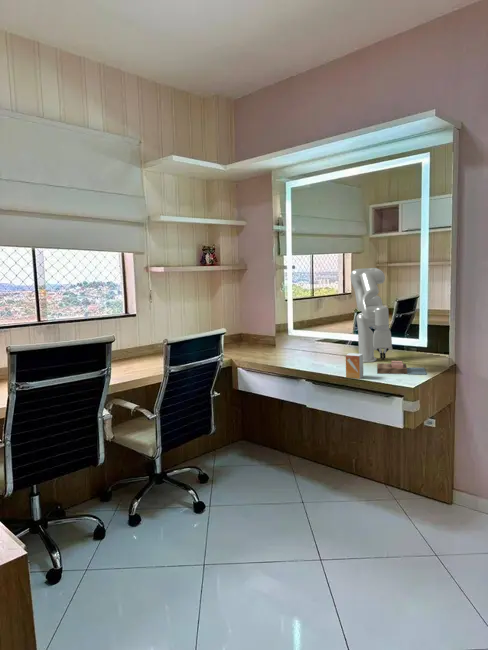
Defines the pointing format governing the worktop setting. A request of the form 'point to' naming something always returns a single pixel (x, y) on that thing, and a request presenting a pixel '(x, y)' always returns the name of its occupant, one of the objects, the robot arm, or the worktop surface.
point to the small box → (354, 365)
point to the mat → (416, 371)
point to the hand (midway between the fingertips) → (382, 359)
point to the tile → (397, 364)
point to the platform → (390, 369)
